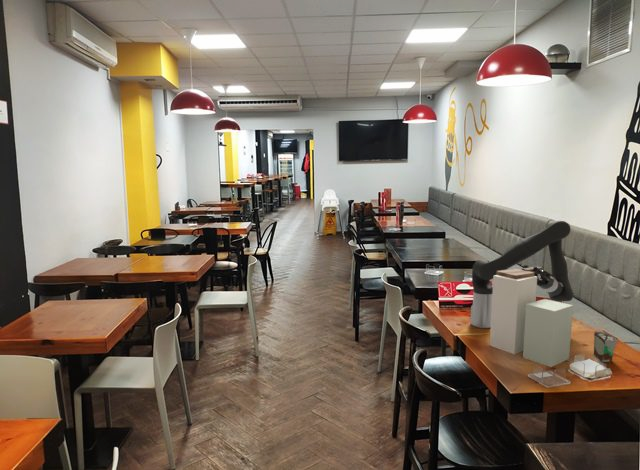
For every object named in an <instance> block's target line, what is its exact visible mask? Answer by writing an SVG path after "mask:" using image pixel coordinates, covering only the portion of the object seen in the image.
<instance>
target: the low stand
mask: <svg viewBox="0 0 640 470" xmlns="http://www.w3.org/2000/svg"><path fill="white" fill-rule="evenodd" d="M573 313H574V305H573V304H569V303H565V302H564V303H563V302H562V301H552V300H551V299H549V298H548V299H547V298H543V299H539V300H536V301H535V302H532V303H528V304H526V316H525V333H524V349H523V351H522V352H523V353H522V358H523V359H527V360H528V361H529V360H530V361H532V362H535V363H537V364H541V365H544V366H546V367H550V368H552V367H554V366H557V365H559V364H561V363H564V362H566V361H569V360H570V350H571V339H572V326H573Z"/></svg>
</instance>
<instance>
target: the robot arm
mask: <svg viewBox="0 0 640 470" xmlns="http://www.w3.org/2000/svg"><path fill="white" fill-rule="evenodd" d="M570 233H571V225H570V224H569V223H568V222H567V221H563V220H556V221H554V222H552V223H550V224H548V225H547V226H546V227H545V228H544V229H542V230H541V231H539V232H537V233H535V234H532V235H529V236H527V237H525V238H522V239H520V240H519V241H517V242H515V243H513V244H511V245H510V246H509V247H508V248H506V250H505V252H504V253H503V254H502V255H500V256H499V257H497V258H495V259H493V260H490V261H488V260H485V259H478V260H476V261H475V262H474V264H473V265H472V271H471V283H472V288H473V293H472V295H473V297H472V305H471V307H470V322H469V324H470V325H472V326H473V327H476V328H479V329H489V328H490V329H491V313H492V293H493V285H492V284H491V280H493V276H494V275H496V274H497V271H501V270H508V269H511V268H512V267H513V266H515V265H516V266H517V264H520V263H522V262H523V261H526V260H527V259H528V258H530V257H533V256H534V255H536V254H537V253H538V252H540V251H542V250H543V249H544V248H545V247H548V251H549V256H550V265H551V267H550V268H551V273H550V272H548V271H546V270H543V269H542V270H540V269H538V268H537V267H538V266H537V267H536V266H533V267H534V268H533V271H534V272H535V273H534V276H537V287H539V288H540V289H542V290H543V291H545V292H546V293H547V294H548V297H549V300H552V301H557V302H571V301H572V300H573V299H574V292H573V288H572V285H571V282H570V280H569V274H568V273H569V272H568V263H567V260H566V257H565V255H564V252H563V247H562V245H563V244H562V242H563V239H566V238H567V237H568V236H569V235H570ZM523 268H530V267H529V265H527V264H524V265H523V267H522V269H523Z"/></svg>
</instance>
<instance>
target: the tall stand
mask: <svg viewBox="0 0 640 470" xmlns="http://www.w3.org/2000/svg"><path fill="white" fill-rule="evenodd" d="M492 287H493V293H492V313H491V327H490V337H489V346H490V347H493V348H496V349H499V350H501V351H505V352H507V353H509V354H512V355H516V354H519V353H521V352H523V349H524V333H525V316H526V304H528V303H532V302H535V301H537V300H536V299H537V287H538V285H537V276H531V277H525V278H519V279H513V278H509V277H505V276H501V275H494V276H493V279H492Z"/></svg>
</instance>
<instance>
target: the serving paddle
mask: <svg viewBox="0 0 640 470" xmlns="http://www.w3.org/2000/svg"><path fill="white" fill-rule="evenodd" d="M535 267H537V268H538V269H540V270H542V271H543V267H541V266H535ZM533 268H534V266H531V267H529V268H523V267H522V268H521V269H520V268H515V267H514V268H508V269H506V270H501V271H497V274H496V275H501V276H505V277H509V278H513V279H519V278H525V277H531V276H534V273H535V272H534V271H533Z"/></svg>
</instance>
